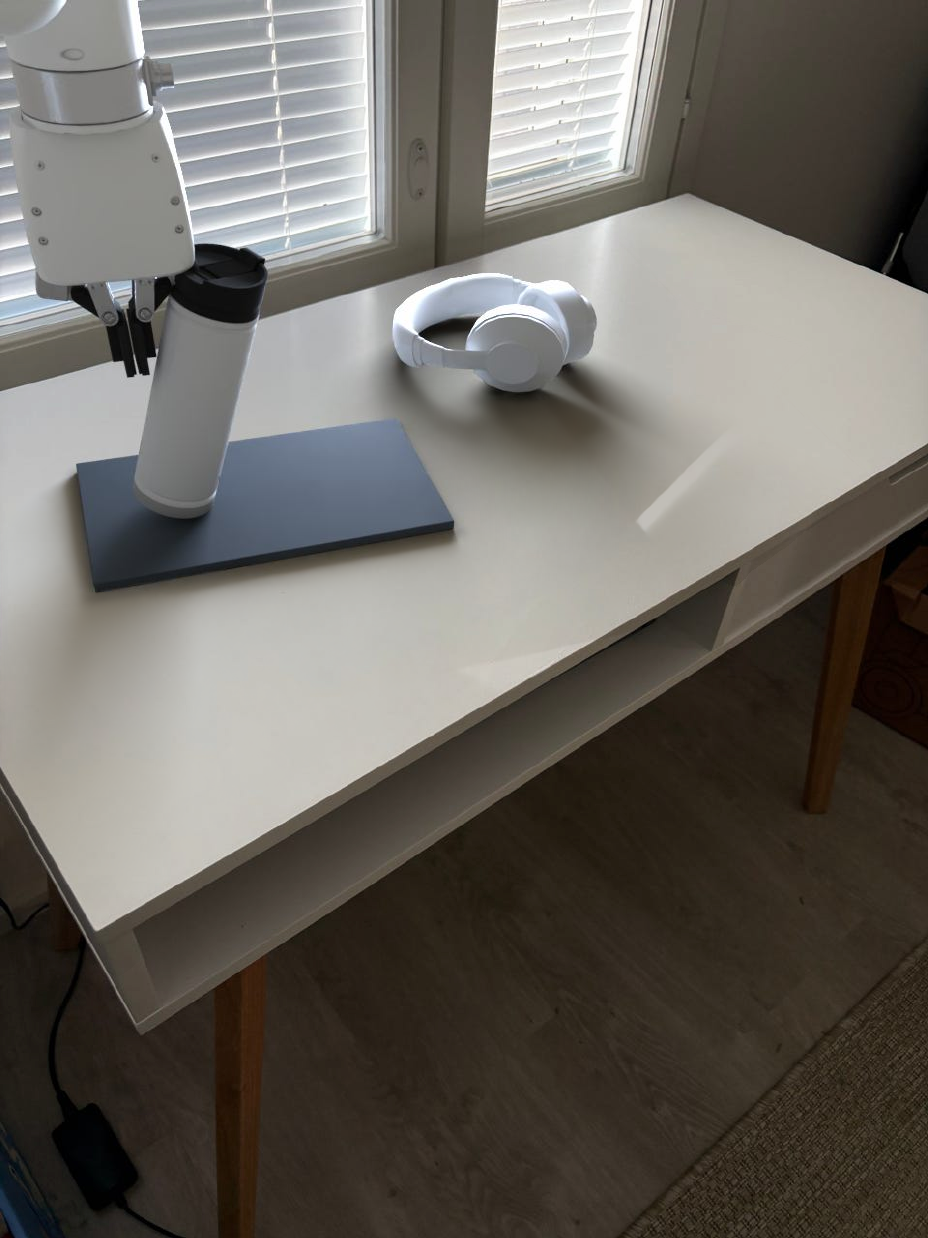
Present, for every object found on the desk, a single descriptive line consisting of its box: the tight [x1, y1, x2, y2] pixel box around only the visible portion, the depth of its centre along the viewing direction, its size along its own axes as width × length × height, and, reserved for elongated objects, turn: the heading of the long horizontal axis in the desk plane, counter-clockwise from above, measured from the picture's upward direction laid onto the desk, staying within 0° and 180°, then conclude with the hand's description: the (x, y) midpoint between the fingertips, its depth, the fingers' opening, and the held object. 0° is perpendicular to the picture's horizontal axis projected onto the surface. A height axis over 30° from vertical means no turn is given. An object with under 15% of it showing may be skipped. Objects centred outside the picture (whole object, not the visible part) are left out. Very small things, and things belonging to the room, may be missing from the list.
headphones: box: [392, 272, 598, 393], centre depth 101 cm, size 18×8×20 cm
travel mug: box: [133, 242, 269, 519], centre depth 75 cm, size 6×7×20 cm
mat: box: [75, 417, 455, 593], centre depth 83 cm, size 28×16×1 cm, turn 110°
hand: (136, 366), depth 72 cm, fingers closed
